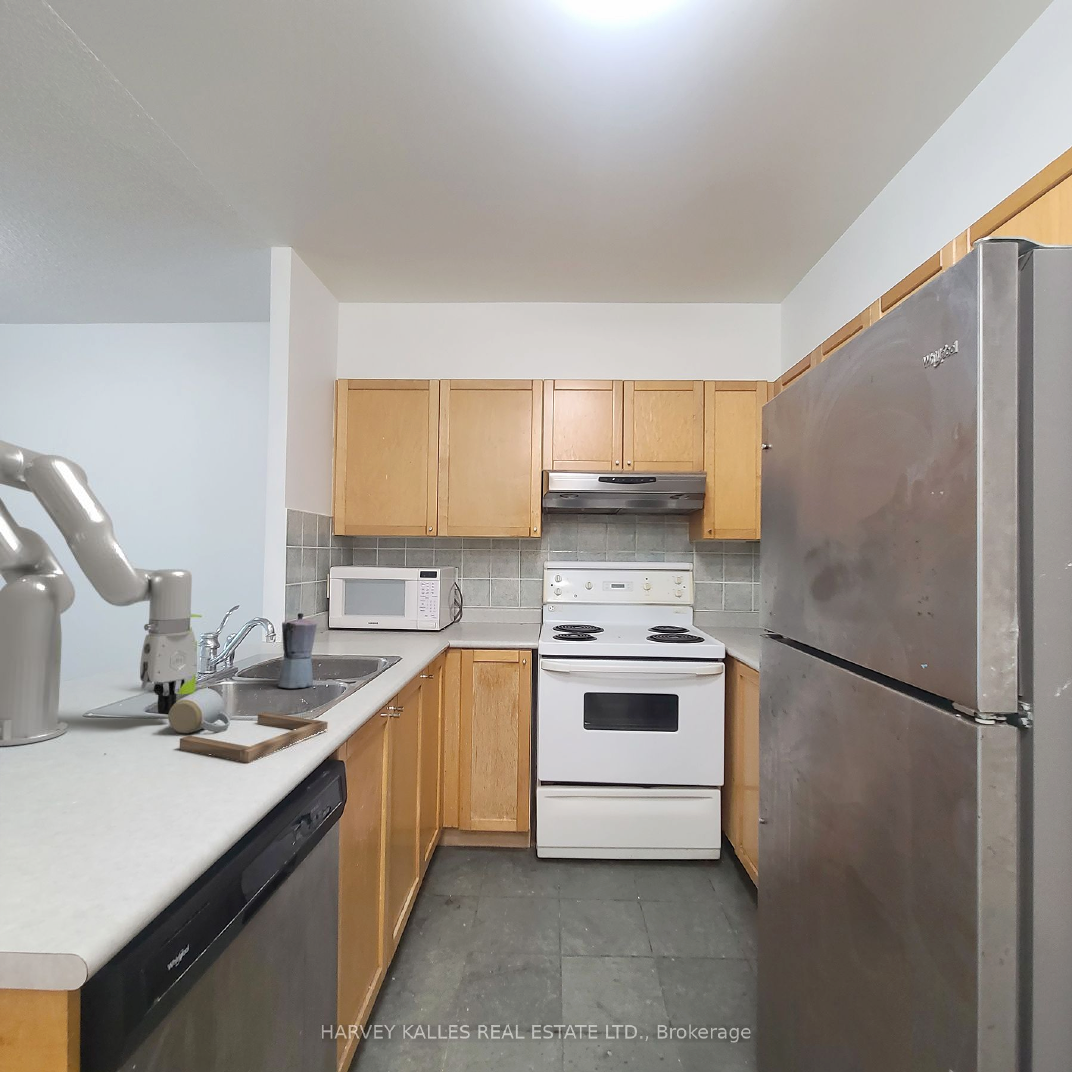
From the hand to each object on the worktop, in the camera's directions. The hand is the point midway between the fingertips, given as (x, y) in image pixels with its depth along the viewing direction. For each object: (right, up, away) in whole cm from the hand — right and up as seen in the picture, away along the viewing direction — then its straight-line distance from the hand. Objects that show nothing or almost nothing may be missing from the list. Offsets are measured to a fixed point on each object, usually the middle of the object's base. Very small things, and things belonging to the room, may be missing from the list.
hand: (166, 712), depth 123 cm
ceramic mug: (+9, -3, -3) cm, 10 cm away
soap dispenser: (-13, -3, +27) cm, 30 cm away
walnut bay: (+24, -2, -9) cm, 26 cm away
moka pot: (+13, -4, +35) cm, 38 cm away
